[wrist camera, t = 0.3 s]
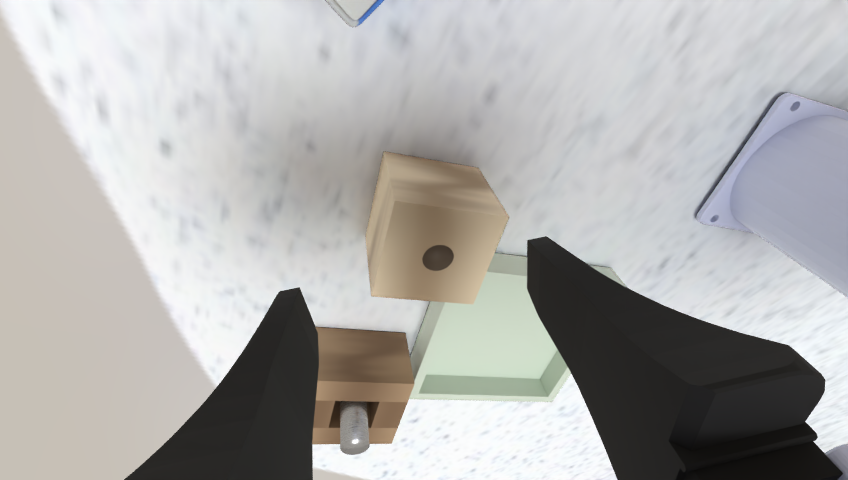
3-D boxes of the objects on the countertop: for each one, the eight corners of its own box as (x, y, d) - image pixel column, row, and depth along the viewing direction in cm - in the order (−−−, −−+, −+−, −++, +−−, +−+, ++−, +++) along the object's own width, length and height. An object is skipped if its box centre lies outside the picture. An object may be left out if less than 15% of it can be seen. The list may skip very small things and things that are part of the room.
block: (477, 167, 22) (509, 217, 18) (450, 245, 25) (473, 304, 21) (383, 150, 21) (394, 200, 17) (365, 235, 24) (371, 296, 20)
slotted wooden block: (405, 333, 28) (414, 383, 25) (385, 391, 31) (391, 443, 28) (311, 326, 27) (308, 380, 23) (300, 389, 30) (296, 444, 26)
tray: (610, 267, 28) (627, 287, 26) (541, 380, 34) (552, 402, 32) (449, 246, 25) (457, 268, 23) (403, 374, 31) (407, 399, 29)
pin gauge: (365, 354, 29) (372, 438, 24) (361, 370, 30) (366, 454, 25) (341, 352, 28) (343, 438, 23) (337, 369, 29) (338, 454, 24)
